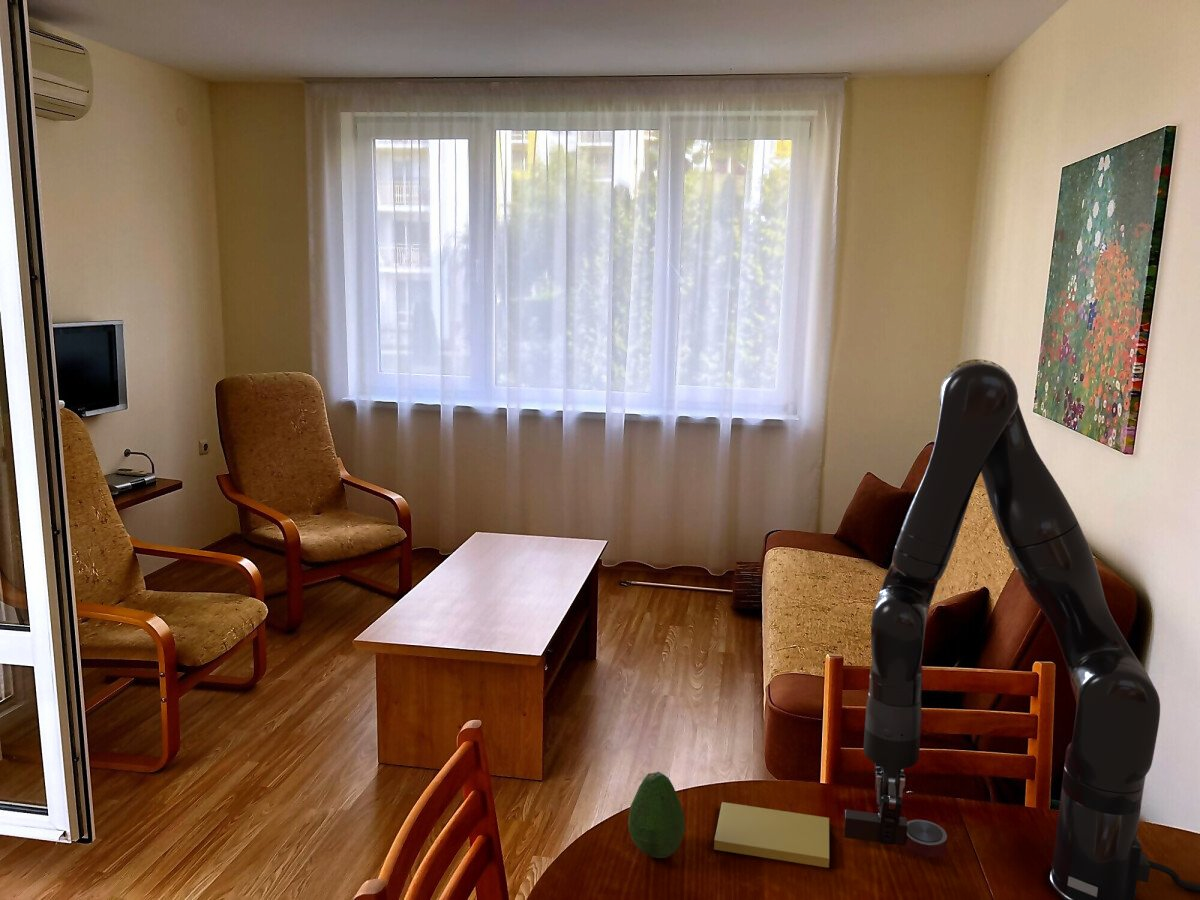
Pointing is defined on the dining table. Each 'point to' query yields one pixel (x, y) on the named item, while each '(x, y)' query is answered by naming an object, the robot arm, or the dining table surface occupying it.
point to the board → (773, 834)
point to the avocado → (656, 817)
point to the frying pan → (898, 833)
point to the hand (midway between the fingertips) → (885, 836)
